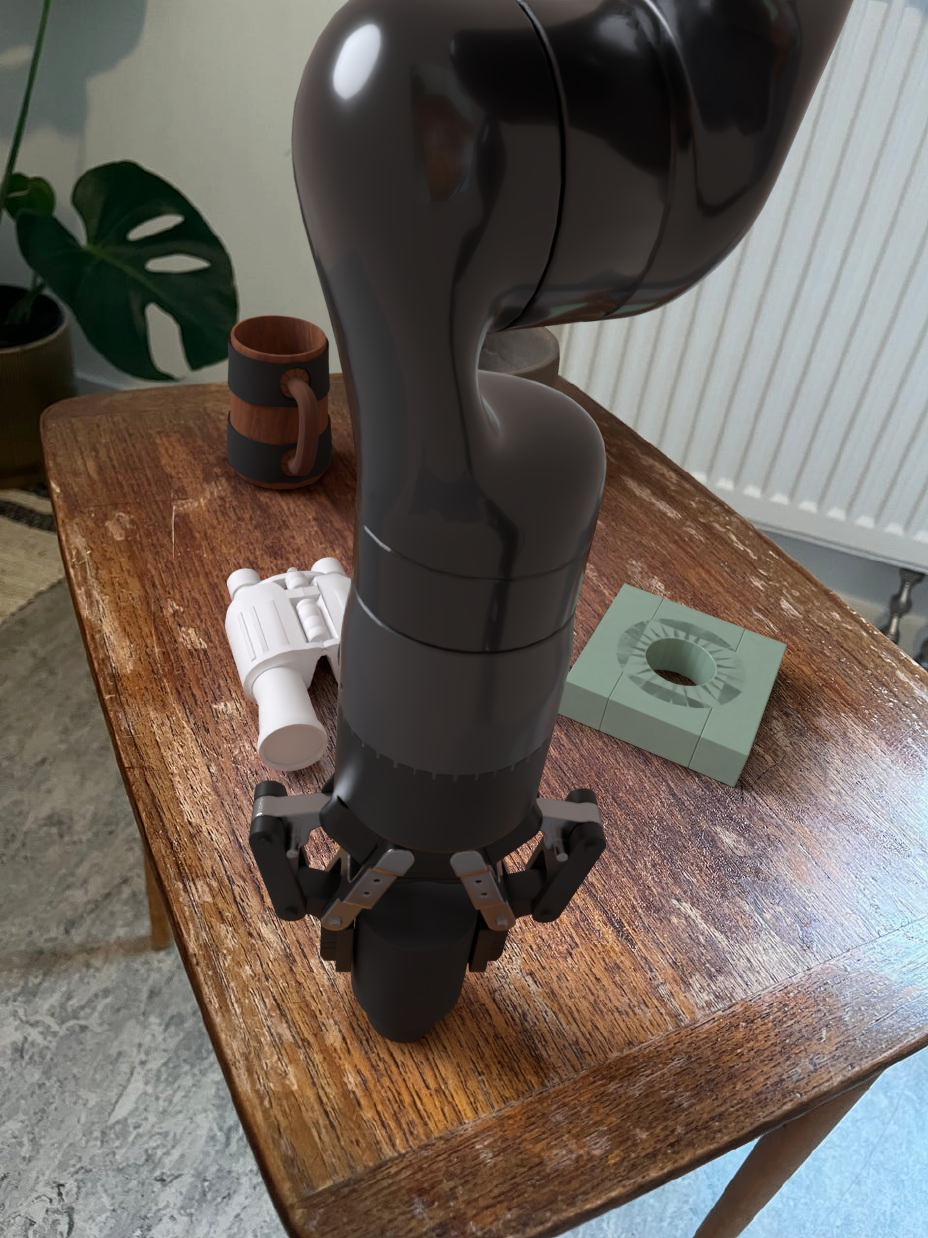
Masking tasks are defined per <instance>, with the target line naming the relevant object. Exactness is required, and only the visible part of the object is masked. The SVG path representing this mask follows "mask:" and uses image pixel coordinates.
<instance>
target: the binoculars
mask: <svg viewBox="0 0 928 1238" xmlns="http://www.w3.org/2000/svg"><path fill="white" fill-rule="evenodd" d="M350 583H351V577H348V575H347V573H346V572H345V570H344V567H343V565H342V563H341V561H339V560H338V559H337V558H334V557H322V558H320V559H318V560H317V561H316V562H315V563H314V564H313V565H312V566H311V568H310V570H298V569H297V567H294V566H292V567H289V568H288V569H287V571H286V572H283V573H280V574H275V575H273V576H270V577H268V578H265V579H263V580H262V579H261V577H260V574H259V573H258V572H257V571H256V570H254V569H252V568H247V567H246V568H245V567H244V568H239V569H236V570H235V571H233V572H232V573H231V574H230V575H229V576H228V578H227V581H226V585H227V590H228V593H229V596H230V600H231V603H230V604H229V606H228V607H227V611H226V614H225V615H226V616H225V622H224V628H225V632H226V636H227V639H228V643H229V646H230V650H231V652H232V656H233V659H234V663H235V666H236V670H237V672H238V677H239V679H240V683H241V686H242V689H243V693H244V695H245V697H246V698H247V699H248V700H249V701H250V702H251V703H253V704H255V705H257V706H258V728H259V729H258V731H259V734H258V738H257V744H256V750H257V754H258V758H259V759H260V761H261V763H262V764H263V765H264V766H265V767H267V768H269V769H271V770H273V771H279V772H294V771H300V770H302V769H306V768H309V767H310V766H312V765H313V764H315V763H316V762H318V761H319V760H320V759H321V758H322V757H323V756H324V755H325V753H326V752H327V749H328V745H329V742H328V734H327V730H326V728H325V727H324V726H323V724H322V723H321V722H320V721H319V720H318V717H317V715H316V712H315V709H314V706H313V704H312V701H311V698H310V695H309V692H308V689H309V688H310V687H311V684H312V681H313V677H314V673H315V670H316V667H317V664H318V660H320V658H321V657H322V656H326V658H327V661H328V664H329V666H330V669H331V671H332V674H333V676H334V678H335V681H336V682H337V683H338V681H339V665H338V657H337V654H338V647H339V643H340V637H341V627H342V620H343V615H344V610H345V605H346V600H347V596H348V592H349V588H350Z"/></svg>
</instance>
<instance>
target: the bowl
mask: <svg viewBox="0 0 928 1238" xmlns="http://www.w3.org/2000/svg"><path fill="white" fill-rule="evenodd" d="M560 352H561V349H560V343H559V340H558V338H557V337H556V335H555V334H553V332H552V331H550V330H549V328H547V327H538V328H529V329H521V330H512V331H504V332H492V333H487V334H486V336H485V339H484V342H483V345H482V348H481V351H480V355H479V362H478V369H479V370H486V371H492V372H498V373H504V374H509V375H513V376H518V377H522V378H525V379H529V380H532V381H536V382H539V383H541V384H544V385H546V386H548V387H551V388H553V389H555V390H556V385H557V381H558V376H559V372H560V363H561V354H560Z"/></svg>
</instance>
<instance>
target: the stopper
mask: <svg viewBox="0 0 928 1238" xmlns="http://www.w3.org/2000/svg"><path fill="white" fill-rule="evenodd" d="M478 914H479V910H476V909H475V908H474V906H473V904H472V902H471V900H470V898H469V895H468V893H467V891H466V889H465V887H464V885H463V884H440V883H434V882H429V881H421V882H414V883H407V884H391V886H390V887H389V888H388V889H387V891H386V892H385V893H384V894H383V895H382V897H381V898H380V899H379V900H378V902H377V903H376V904H375V905H374V906H373V908H372V909H366V908H363V909H362V910H361V912H360V913H359V914H358V915H357V916H356V918H355V919H354V939H353V952H352V966H351V972H350V984H351V990H352V993H353V995H354V998H355V1000H356V1002H357V1004H358V1005H359V1006H360V1008H361V1009H362V1010H363V1012H365V1014H366V1018H367V1020H368V1022H369V1024H370V1026H371V1027H372V1028H373V1029H374V1030H375V1031H376V1032H377V1033H378V1034H379V1035H380V1036H381V1037H383V1038H385V1039H387V1040H390V1041H393V1042H398V1043H408V1042H409V1043H410V1042H414V1041H416V1040H419V1039H421V1038H423V1037H424V1036H426V1035H427V1034H428V1033H430V1031H432V1029H433V1028H434V1027H435V1025H436V1024H437V1023H439V1022H440V1021H442V1020H443V1019H445V1017H446V1016H448V1015H449V1014H450V1013H451V1012H452V1010H453V1009H454V1008H455V1007H456V1005H457V1003H458V1001H459V999H460V997H461V994H462V991H463V987H464V981H465V977H466V972H467V969H468V960H469V955H470V951H471V946H472V942H473V937H474V932H475V928H476V923H477V919H478Z"/></svg>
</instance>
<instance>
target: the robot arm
mask: <svg viewBox="0 0 928 1238" xmlns="http://www.w3.org/2000/svg"><path fill="white" fill-rule="evenodd" d="M853 3H854V0H347V1H346V3H344V4H343V5H342V6H341V7H340V8H338V10H337V11H336V12H334V14H333V15H332V17H331V18H330V20H329V21H328V22H327V24H326V26H325V27H324V29H323V30H322V32H321V33H320V35H319V36H318V37H317V40H316V41H315V44H314V46H313V48H312V51H311V52H310V55H309V56H308V59H307V61H306V63H305V65H304V68H303V70H302V74H301V77H300V81H299V84H298V88H297V92H296V96H295V100H294V103H293V112H292V119H291V132H290V133H291V134H290V152H291V154H290V155H291V167H292V175H293V182H294V187H295V190H296V192H295V193H296V196H297V201H298V202H297V203H298V206H299V211H300V216H301V221H302V225H303V228H304V232H305V235H306V240H307V243H308V246H309V250H310V254H311V257H312V260H313V264H314V267H315V271H316V275H317V278H318V282H319V285H320V288H321V292H322V296H323V299H324V302H325V307H326V309H327V312H328V316H329V321H330V324H331V329H332V333H333V337H334V341H335V345H336V348H337V355H338V359H339V364H340V369H341V373H342V378H343V384H344V389H345V394H346V401H347V406H348V413H349V418H350V424H351V430H352V437H353V444H354V445H353V446H354V451H355V452H354V454H355V464H356V466H355V467H356V482H355V500H354V501H355V502H354V518H353V523H354V524H353V536H352V537H353V538H352V539H353V540H352V557H351V562H352V563H351V575H350V579H351V583H350V588H349V592H348V596H347V600H346V605H345V610H344V615H343V620H342V627H341V637H340V643H339V647H338V654H337V657H338V665H339V681H338V682H337V703H336V704H337V706H336V729H335V750H334V771H333V773H332V774H331V776H329V778H327V780H326V781H325V782H324V784H323V785H322V787H321V789H320V792H313V793H303V794H293V795H289V794H288V791H287V788H286V786H285V785H284V784H283V783H282V782H279V781H277V780H271V779H269V780H263V781H260V782H258V783H257V784H256V785H255V788H254V791H253V792H254V794H253V799H252V800H253V801H252V808H251V818H250V824H249V833H248V841H247V842H248V845H249V847H250V850H251V853H252V855H253V858H254V861H255V863H256V865H257V868H258V870H259V873H260V877H261V878H262V881H263V884H264V886H265V890H266V891H267V894H268V896H269V899H270V902H271V905H272V907H273V910H274V912H275V915H276V917H277V918H278V919H280V920H281V921H285V922H297V921H298V922H299V921H301V920H303V919H304V918H305V917H306V916H307V915H308V916H311V917H314V918H316V919H317V920H318V921H319V923H320V938H319V956H320V958H321V959H322V960H323V961H324V962H335V964H334V966H335V967H334V972H335V973H351V966H352V952H353V939H354V926H355V918H356V916H357V915H358V914H359V913H360V912H361V910H362V909H363V908H366V909H372V908H373V906H374V905H375V904H376V903H377V902H378V900H379V899H380V898H381V897H382V895H383V894H384V893H385V892H386V891H387V889H388V888H389V887H390V886H391V884H407V883H414V882H421V881H429V882H434V883H440V884H463V885H464V887H465V889H466V891H467V893H468V895H469V898H470V900H471V902H472V904H473V906H474V908H475V909H476V910H479V914H478V919H477V923H476V928H475V932H474V937H473V942H472V946H471V951H470V955H469V960H468V964H467V969H468V972H469V973H486V970H487V967H488V962H497V961H499V959H500V958H501V957H503V954H504V950H505V946H506V942H507V939H508V934H509V931H510V930H511V929H513V928H514V927H515V926H516V924H517V919H519V918H523V917H527V916H531V918H532V920H533V921H534V922H536V923H539V924H548V923H549V924H550V923H552V922H555V921H557V920H558V919H559V918H560V917H561V915H562V914H563V913H564V911H565V909H567V907H568V905H569V903H570V902H571V901H572V899H573V897H575V895H576V893H577V892H578V890H579V889H580V887H581V886H582V884H583V883H584V881H585V880H586V878H587V877H588V875H589V874H590V873H591V871H592V869H593V868H594V866H595V865H596V863H597V862H598V860H599V859H600V857H601V856H602V854H603V853H604V852H605V850H606V848H607V839H606V835H605V830H604V825H603V824H604V823H603V820H602V819H603V818H602V816H601V811H600V808H599V803H598V799H597V794H596V792H595V791H594V790H593V789H590V788H587V787H580V788H576V789H573V790H571V791H570V792H569V793H568V794H567V795H566V797H565V798H564V799H563V800H561V799H554V798H548V797H541V795H540V791H539V789H540V787H541V782H542V777H543V773H544V770H545V766H546V761H547V759H548V755H549V754H548V753H549V750H550V746H551V743H552V738H553V734H554V730H555V726H556V723H557V718H558V715H559V714H558V711H559V707H560V703H561V699H562V695H563V691H564V687H565V683H566V680H567V676H568V674H569V672H570V667H571V660H572V655H573V648H574V636H575V634H574V633H575V622H576V621H575V620H576V613H577V612H576V610H577V606H578V601H579V598H580V594H581V590H582V585H583V582H584V578H585V573H586V569H587V565H588V561H589V557H590V553H591V551H592V550H591V549H592V546H593V542H594V537H595V533H596V530H597V526H598V521H599V520H598V519H599V515H600V511H601V505H602V501H603V497H604V491H605V485H606V478H607V465H608V464H607V463H608V461H607V455H606V454H607V453H606V447H605V441H604V438H603V435H602V432H601V431H600V428H599V426H598V425H597V423H596V421H595V420H594V418H592V416H591V415H590V414H589V412H588V411H587V410H586V409H584V408H583V407H582V406H581V405H580V404H579V403H578V402H577V401H575V400H574V399H572V398H571V397H570V396H568V395H566V394H565V393H563V392H562V391H559V390H557V389H556V388H555V389H553V388H551V387H548V386H546V385H544V384H541V383H539V382H536V381H532V380H529V379H525V378H522V377H518V376H513V375H509V374H504V373H498V372H492V371H486V370H479V369H478V362H479V355H480V351H481V348H482V345H483V342H484V339H485V336H486V334H487V333H492V332H504V331H512V330H521V329H529V328H538V327H545V328H547V327H553V326H561V325H562V326H563V325H570V324H578V323H592V322H601V321H611V320H621V319H627V318H633V317H637V316H641V315H644V314H647V313H649V312H650V313H651V312H653V311H656V310H659V309H661V308H663V307H665V306H668V305H669V304H672V303H673V302H674V301H676V300H678V299H680V298H681V297H683V296H684V295H685V294H687V293H688V292H690V291H691V290H693V289H694V288H696V286H698V285H699V284H701V283H702V282H703V281H704V280H706V278H708V276H710V275H711V274H712V273H713V272H715V270H717V269H718V268H719V267H720V266H721V265H722V264H723V263H724V262H725V260H727V259H728V258H729V257H730V255H731V254H733V252H734V251H735V250H736V249H737V247H738V246H739V245H740V244H741V242H742V241H743V240H744V239H745V237H746V236H747V235H748V234H749V232H750V231H751V229H752V227H753V226H754V224H755V223H756V221H757V220H758V219H759V216H760V214H761V213H762V212H763V210H764V208H765V206H766V204H767V202H768V200H769V197H770V196H771V194H772V191H773V190H774V188H775V186H776V183H777V181H778V179H779V177H780V174H781V172H782V170H783V167H784V165H785V163H786V160H787V158H788V156H789V154H790V151H791V148H792V146H793V144H794V141H795V139H796V137H797V135H798V132H799V130H800V127H801V126H802V123H803V120H804V118H805V115H806V113H807V111H808V108H809V107H810V104H811V102H812V100H813V97H814V94H815V93H816V90H817V87H818V85H819V82H820V80H821V79H822V76H823V74H824V72H825V69H826V67H827V65H828V62H829V61H830V58H831V56H832V54H833V52H834V50H835V47H836V44H837V42H838V40H839V38H840V35H841V33H842V31H843V28H844V26H845V24H846V21H847V19H848V16H849V13H850V10H851V8H852V6H853ZM317 828H321V829H322V830H323V832H324V833H325V834H326V836H328V837H329V838H330V839H331V840H333V842H335V843H336V844H337V846H339V848H338V850H337V852H336V853H335V854H334V856H333V857H332V858H331V859H330V861H329V862H328V864H327V865H326V866H325V868H324V869H320V868H315V867H311V866H310V859H309V856H308V853H307V850H306V845H308V844H309V842H310V837H311V836H310V835H311V833H312V831H314V830H316V829H317ZM539 832H541V833H542V837H541V838H540V840H539V842H538V843H537V845H536V847H535V848H534V850H533V852H532V854H531V855H530V857H529V858H528V860H527V862H526V864H525V866H524V869H525V870H519V871H515V872H511V871H510V869H509V865H508V864H507V862H506V859H505V858H507V857H508V856H509V855H511V854H512V853H514V852H515V851H517V850H518V849H519V848H521V847H522V846H524V845H525V844H527V843H528V842H529V841H531V840H532V839H533V838H535V837H536V836H537V835H538V834H539Z"/></svg>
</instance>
